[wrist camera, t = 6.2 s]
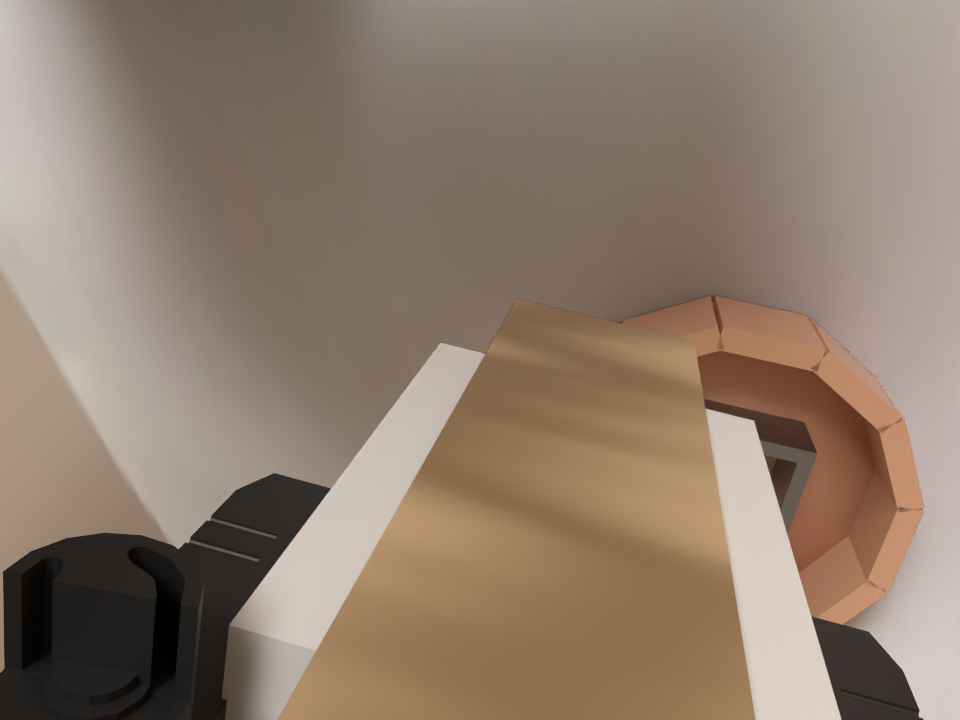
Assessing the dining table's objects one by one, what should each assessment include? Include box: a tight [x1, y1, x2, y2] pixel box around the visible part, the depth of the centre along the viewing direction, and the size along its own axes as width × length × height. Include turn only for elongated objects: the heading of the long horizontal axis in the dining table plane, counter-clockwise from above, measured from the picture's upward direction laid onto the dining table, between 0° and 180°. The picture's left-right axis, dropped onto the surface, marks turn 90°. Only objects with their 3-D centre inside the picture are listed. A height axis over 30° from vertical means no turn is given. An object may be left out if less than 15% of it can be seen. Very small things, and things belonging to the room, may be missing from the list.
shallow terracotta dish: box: [622, 296, 924, 625], centre depth 31 cm, size 13×13×4 cm
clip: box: [704, 399, 817, 534], centre depth 31 cm, size 5×5×2 cm
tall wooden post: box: [277, 298, 755, 720], centre depth 8 cm, size 3×3×14 cm
